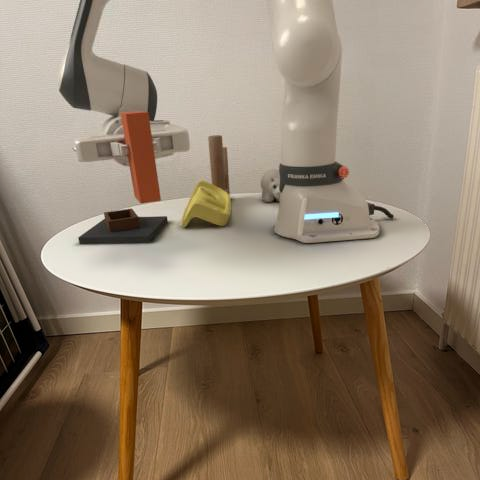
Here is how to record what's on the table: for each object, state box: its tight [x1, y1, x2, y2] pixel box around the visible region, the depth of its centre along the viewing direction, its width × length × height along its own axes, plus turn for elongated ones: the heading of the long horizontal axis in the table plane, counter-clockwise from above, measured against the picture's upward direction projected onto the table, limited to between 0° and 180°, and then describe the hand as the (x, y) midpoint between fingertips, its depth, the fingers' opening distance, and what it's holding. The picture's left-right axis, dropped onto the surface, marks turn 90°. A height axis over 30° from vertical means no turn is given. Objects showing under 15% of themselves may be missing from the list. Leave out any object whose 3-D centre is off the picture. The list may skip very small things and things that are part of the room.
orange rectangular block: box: [120, 111, 162, 204], centre depth 74 cm, size 6×4×14 cm, turn 22°
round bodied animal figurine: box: [260, 168, 280, 203], centre depth 117 cm, size 7×12×8 cm, turn 5°
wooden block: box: [207, 134, 231, 196], centre depth 117 cm, size 4×11×18 cm, turn 175°
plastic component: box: [179, 180, 232, 228], centre depth 108 cm, size 20×7×10 cm
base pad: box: [77, 207, 169, 245], centre depth 100 cm, size 16×16×4 cm
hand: (140, 148), depth 72 cm, fingers closed on orange rectangular block, 3 cm apart
